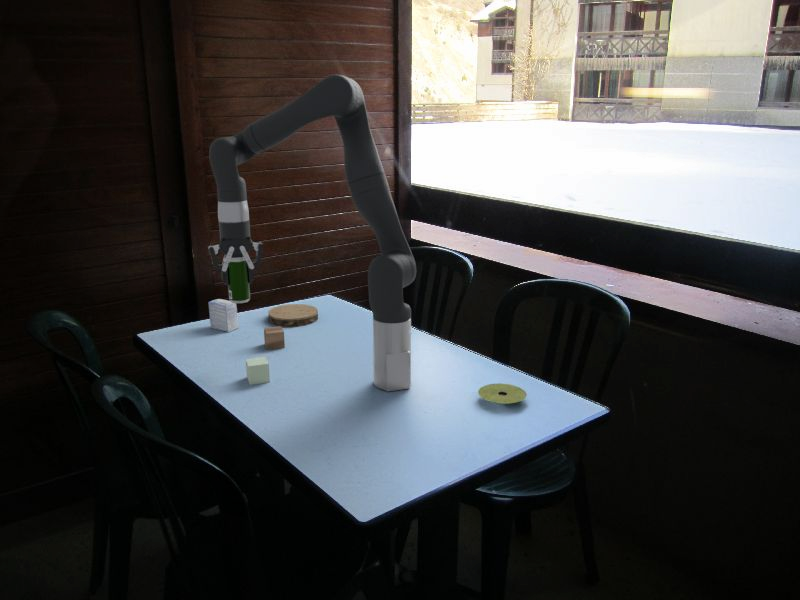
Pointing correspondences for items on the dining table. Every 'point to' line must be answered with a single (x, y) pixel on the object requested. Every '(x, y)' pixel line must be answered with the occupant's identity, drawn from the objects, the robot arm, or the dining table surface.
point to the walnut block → (274, 338)
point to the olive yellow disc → (502, 393)
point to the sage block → (257, 370)
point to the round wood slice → (293, 315)
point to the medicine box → (223, 315)
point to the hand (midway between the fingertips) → (238, 283)
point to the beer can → (238, 280)
